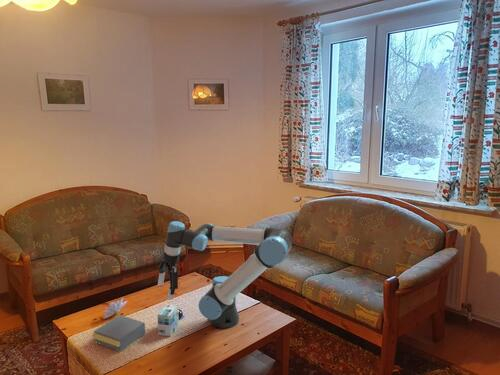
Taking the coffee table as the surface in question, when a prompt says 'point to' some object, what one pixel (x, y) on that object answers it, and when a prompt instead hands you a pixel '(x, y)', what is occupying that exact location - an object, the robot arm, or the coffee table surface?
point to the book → (119, 332)
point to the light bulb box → (168, 320)
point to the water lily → (114, 308)
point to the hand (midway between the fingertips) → (165, 292)
